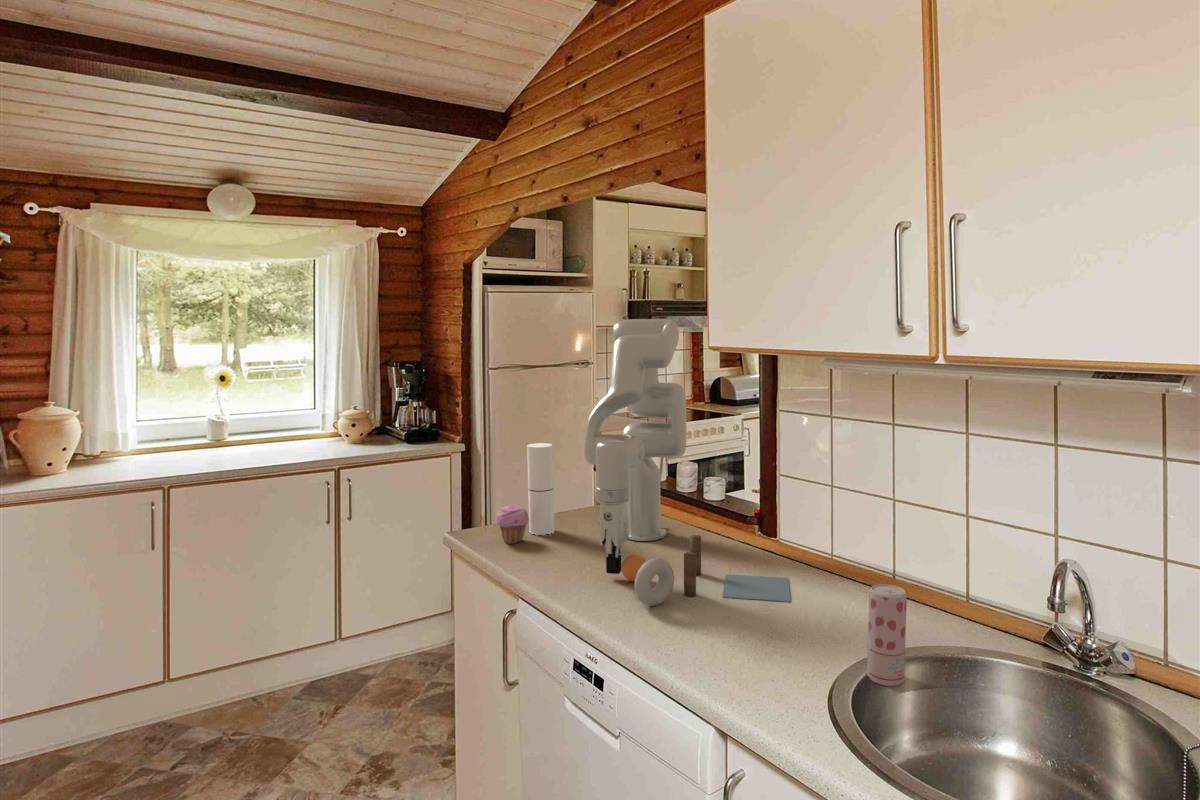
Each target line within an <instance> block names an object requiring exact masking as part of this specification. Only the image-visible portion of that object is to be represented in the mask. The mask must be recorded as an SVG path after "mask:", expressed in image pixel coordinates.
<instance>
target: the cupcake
mask: <svg viewBox="0 0 1200 800" xmlns="http://www.w3.org/2000/svg"><path fill="white" fill-rule="evenodd" d="M495 519H496V521H495V522H496V523H497V525H498V526H499V528H500V531H501V536H502V540H503V541H504V542H505V543H507V544H508V545H513V544H517V543H520V542H522V540H523V538H524V536H525V532H526V526H527V525H528V524H529V512H528V511H527V510H526V508H525V507H524V506H521V505H505V506H503V507H501V508H500V509H499V511H498V513H497V514H496V516H495Z"/></svg>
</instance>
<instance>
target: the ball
mask: <svg viewBox="0 0 1200 800" xmlns="http://www.w3.org/2000/svg"><path fill="white" fill-rule="evenodd" d="M646 561H647V560H646V559H645V558H644V557H643V556H641V555H638V554H631V555H628V556H627V557H625V559H624V560H623V562H621V573H622V576H623V577H625V579H626V580H628V581H630V582H634V583H635V578H636V575H637V572H638V570H639V569H640V567H641V566H642V565H643V564H644V563H645V562H646Z"/></svg>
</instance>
